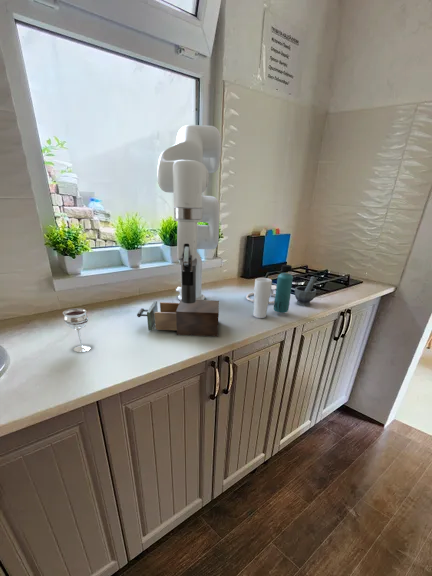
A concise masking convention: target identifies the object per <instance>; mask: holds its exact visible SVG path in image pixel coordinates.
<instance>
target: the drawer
mask: <svg viewBox="0 0 432 576" xmlns="http://www.w3.org/2000/svg"><path fill="white" fill-rule="evenodd" d="M179 303H180V302H165V301H160V302H159V310H158V300H153V301H152V303H151V305H150V307H149V308H148V309H144V308H143V307H142V308H140V309H139V310H138V312H137V313H136V317H137V318H141V317H146V318H147V331H148V332H152V331H153V329H154V328H155V330H158V331H177V325H176V311H177V308H178V305H179ZM144 312H145V313H144Z"/></svg>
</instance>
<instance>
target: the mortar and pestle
mask: <svg viewBox="0 0 432 576" xmlns="http://www.w3.org/2000/svg"><path fill="white" fill-rule="evenodd" d="M309 278H310V279H309V281H308V283H307V285H306V286H296V287H295V288H294V297H295V299H296V305H298V306H301V307H308V306H310V305H311V302H312V301H313V300H314V299H315V298H316V295H317V289H316V288H314V285H315V282H316V281H317V277H315V276H310V277H309Z"/></svg>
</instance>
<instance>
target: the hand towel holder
mask: <svg viewBox="0 0 432 576" xmlns="http://www.w3.org/2000/svg"><path fill="white" fill-rule="evenodd" d="M276 285H277V284H272V287H271V293H270V297H275V294H276V293H274V291H276ZM250 296H251V297H252V296H254V292H250V293H247V294H246V296H245V299H246V300H247V301H248V302H251V303H254V299H253V298H250ZM274 302H275V301H274V300H272V301H271V300H269V303H268V305H274Z"/></svg>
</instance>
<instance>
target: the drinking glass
mask: <svg viewBox="0 0 432 576" xmlns="http://www.w3.org/2000/svg"><path fill="white" fill-rule="evenodd" d="M272 285H273V280H272V279H271V278H268V277H257V278H255V279H254V285H253V286H254V287H253V293H254V295H253V300H254V302H253V314H252V315H253V317H254V318H256V319H264V318H266V317H267V312H268V308H269V304H268V303H269V302H270V298H271V296H270V293H271V287H272Z"/></svg>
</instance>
